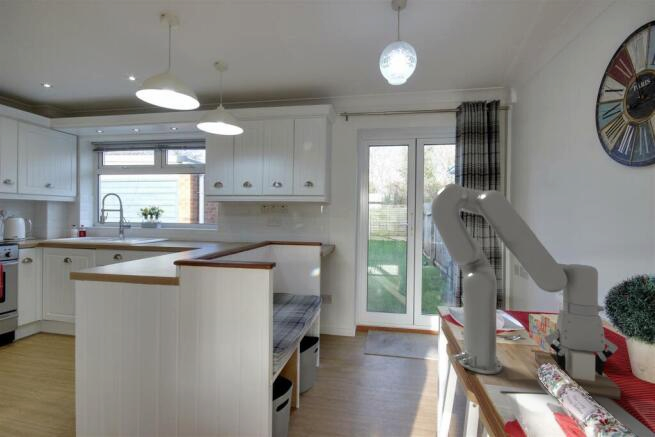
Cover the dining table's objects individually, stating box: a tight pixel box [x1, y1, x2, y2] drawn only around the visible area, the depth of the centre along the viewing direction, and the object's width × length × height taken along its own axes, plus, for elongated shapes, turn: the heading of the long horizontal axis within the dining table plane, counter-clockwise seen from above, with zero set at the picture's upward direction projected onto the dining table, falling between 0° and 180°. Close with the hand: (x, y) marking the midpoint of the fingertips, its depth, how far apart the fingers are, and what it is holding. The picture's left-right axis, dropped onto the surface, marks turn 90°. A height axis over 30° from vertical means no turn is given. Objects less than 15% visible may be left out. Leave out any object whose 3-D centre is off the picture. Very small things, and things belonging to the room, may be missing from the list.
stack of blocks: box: [528, 313, 565, 355], centre depth 108 cm, size 21×6×12 cm, turn 169°
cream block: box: [565, 349, 596, 381], centre depth 84 cm, size 5×5×7 cm
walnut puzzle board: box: [534, 350, 621, 400], centre depth 89 cm, size 18×14×3 cm
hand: (579, 369), depth 84 cm, fingers open, 7 cm apart
